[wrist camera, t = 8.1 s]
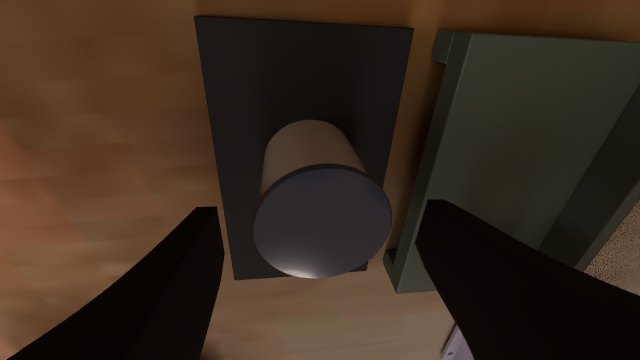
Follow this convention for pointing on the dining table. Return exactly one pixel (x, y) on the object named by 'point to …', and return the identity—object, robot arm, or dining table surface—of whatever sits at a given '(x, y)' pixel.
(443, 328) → the dining table surface
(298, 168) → the pot
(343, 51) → the placemat
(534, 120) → the shelf
